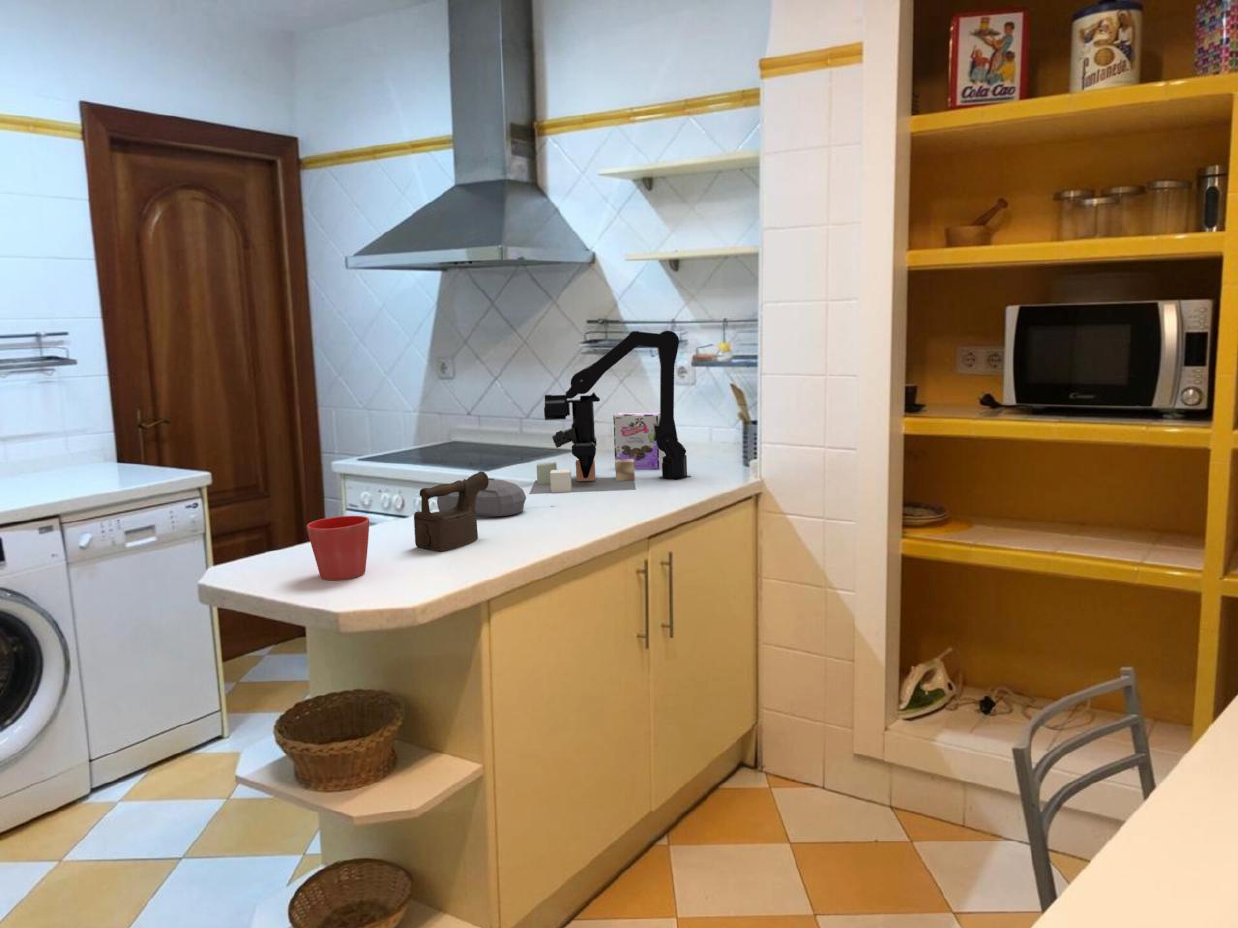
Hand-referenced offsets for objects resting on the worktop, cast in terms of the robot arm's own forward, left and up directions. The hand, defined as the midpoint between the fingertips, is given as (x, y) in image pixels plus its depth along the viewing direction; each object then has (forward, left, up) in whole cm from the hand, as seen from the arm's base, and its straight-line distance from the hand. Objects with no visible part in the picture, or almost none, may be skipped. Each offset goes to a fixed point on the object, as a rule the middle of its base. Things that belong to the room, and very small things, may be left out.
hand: (585, 476), depth 259 cm
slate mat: (+5, +4, -2) cm, 7 cm away
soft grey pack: (+42, +11, -2) cm, 43 cm away
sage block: (+8, -7, -1) cm, 11 cm away
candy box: (-24, -3, -2) cm, 25 cm away
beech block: (-8, +7, -1) cm, 11 cm away
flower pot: (+92, +36, -2) cm, 98 cm away
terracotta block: (0, 0, -1) cm, 1 cm away
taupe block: (+14, +6, -1) cm, 15 cm away
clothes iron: (+65, +32, -2) cm, 72 cm away
